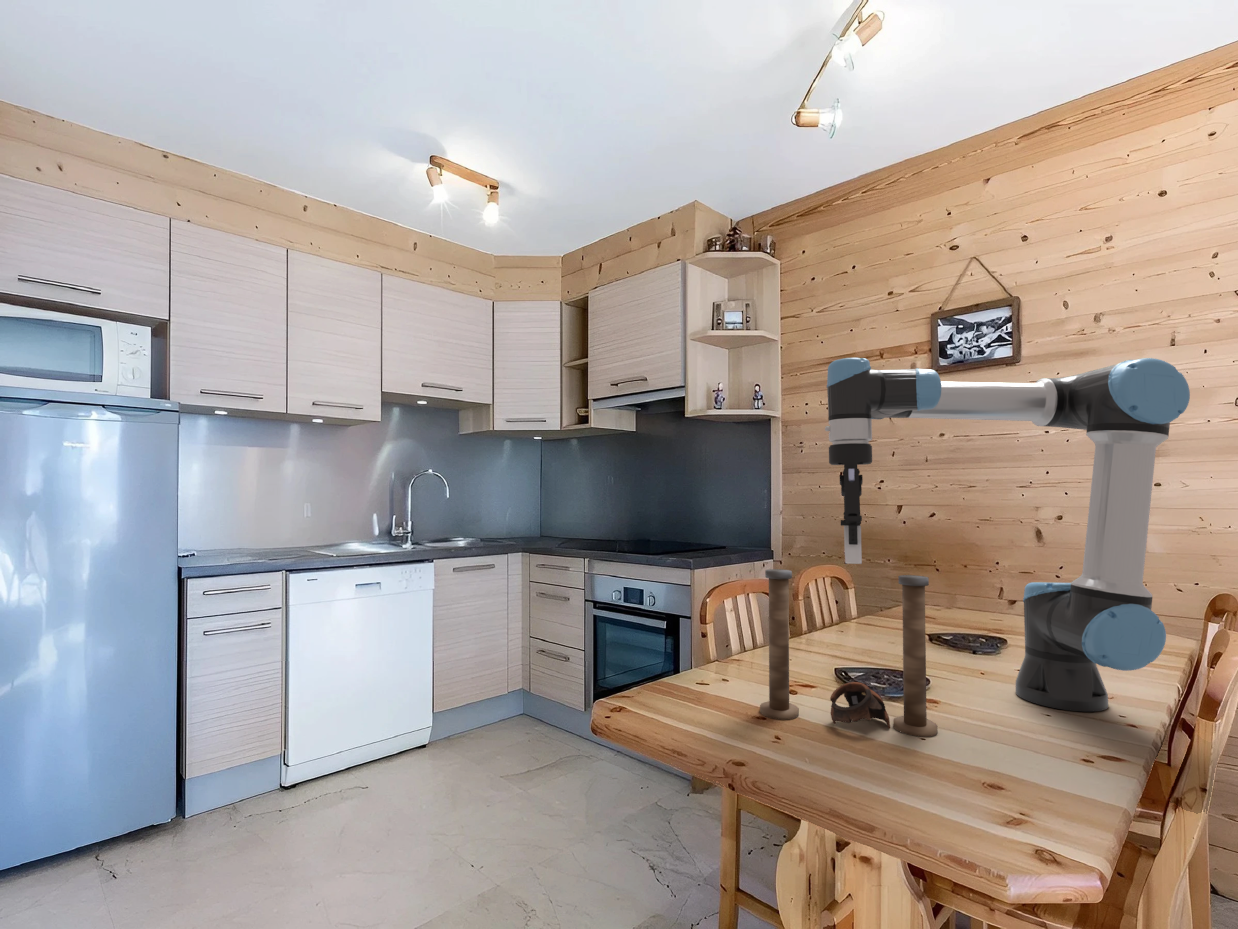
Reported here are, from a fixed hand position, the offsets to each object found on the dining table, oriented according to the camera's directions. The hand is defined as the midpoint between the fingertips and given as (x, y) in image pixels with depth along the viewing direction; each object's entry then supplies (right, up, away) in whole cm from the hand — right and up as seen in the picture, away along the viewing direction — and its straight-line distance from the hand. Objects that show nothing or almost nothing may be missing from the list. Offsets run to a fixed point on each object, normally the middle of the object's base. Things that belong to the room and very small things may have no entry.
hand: (852, 559), depth 118 cm
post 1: (-13, -29, +2) cm, 32 cm away
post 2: (+9, -29, -6) cm, 30 cm away
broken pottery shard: (0, -29, -3) cm, 29 cm away
